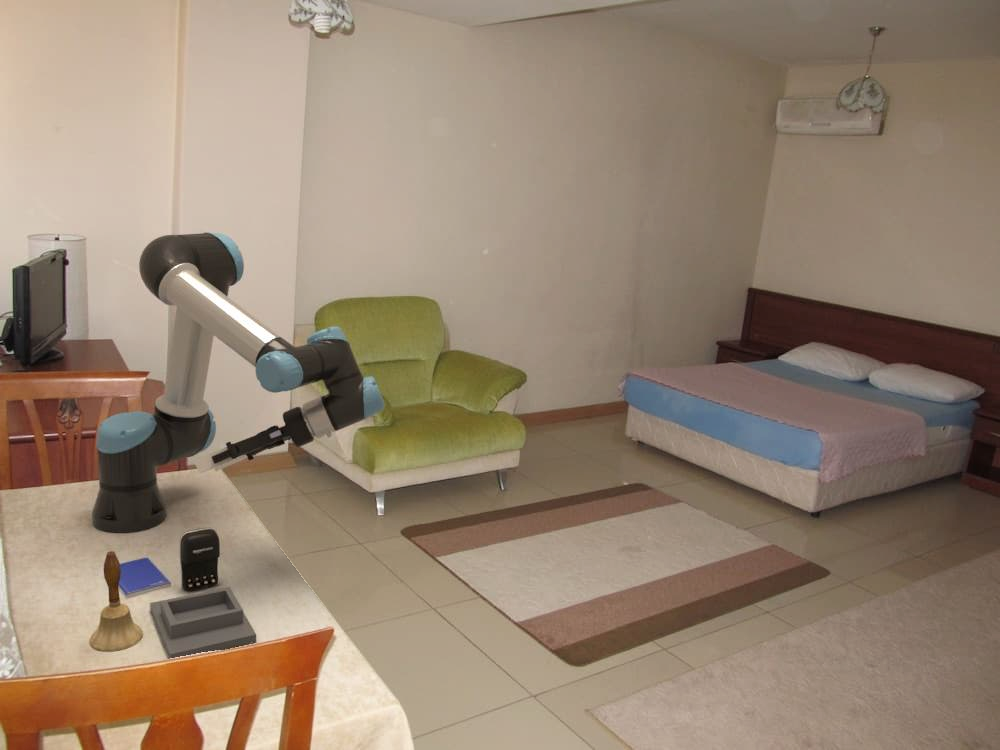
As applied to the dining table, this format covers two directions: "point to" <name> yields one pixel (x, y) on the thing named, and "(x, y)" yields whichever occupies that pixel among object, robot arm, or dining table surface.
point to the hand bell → (115, 615)
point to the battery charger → (199, 559)
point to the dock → (202, 623)
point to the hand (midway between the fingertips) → (205, 466)
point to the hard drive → (141, 578)
